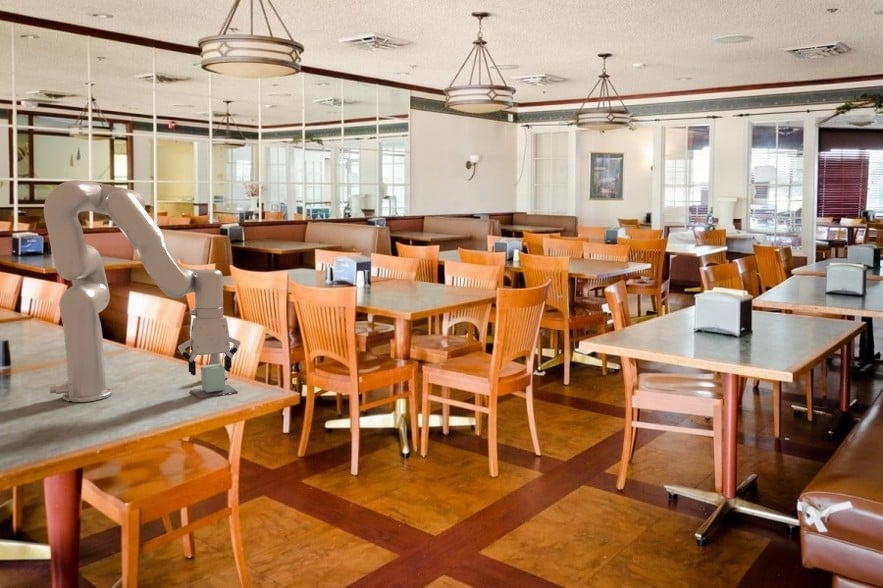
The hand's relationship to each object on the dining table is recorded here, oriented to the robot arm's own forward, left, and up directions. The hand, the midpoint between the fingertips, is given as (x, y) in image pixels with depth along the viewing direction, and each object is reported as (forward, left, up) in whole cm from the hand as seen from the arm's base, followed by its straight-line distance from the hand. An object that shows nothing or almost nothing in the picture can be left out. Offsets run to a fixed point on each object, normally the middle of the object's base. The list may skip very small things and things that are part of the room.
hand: (210, 372), depth 216 cm
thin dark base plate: (+1, 0, -6) cm, 6 cm away
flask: (+6, +15, -6) cm, 17 cm away
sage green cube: (+1, 0, -5) cm, 5 cm away
